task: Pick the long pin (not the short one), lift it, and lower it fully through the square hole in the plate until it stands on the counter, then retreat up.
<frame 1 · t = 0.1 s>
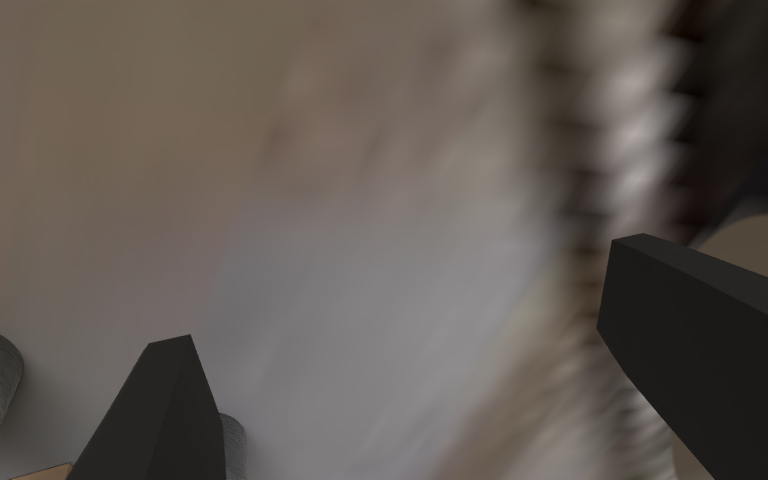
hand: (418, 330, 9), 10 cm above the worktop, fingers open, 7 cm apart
long pin: (201, 441, 23), on the worktop
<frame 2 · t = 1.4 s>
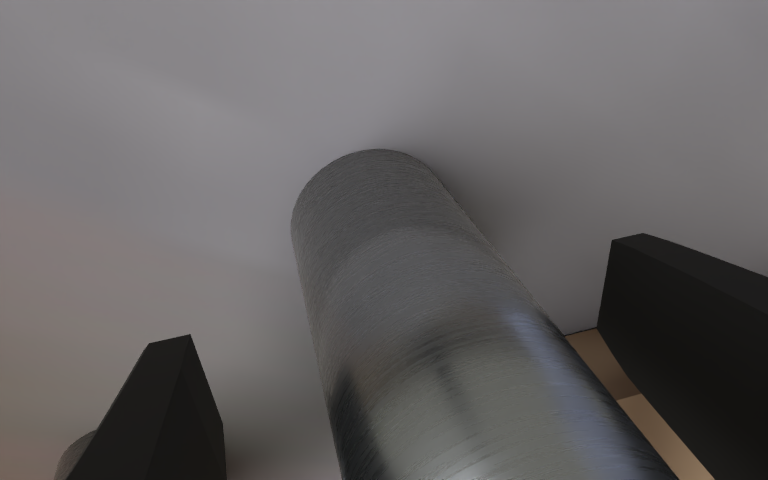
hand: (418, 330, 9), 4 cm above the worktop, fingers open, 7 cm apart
short pin: (134, 470, 14), on the worktop
long pin: (371, 224, 12), on the worktop
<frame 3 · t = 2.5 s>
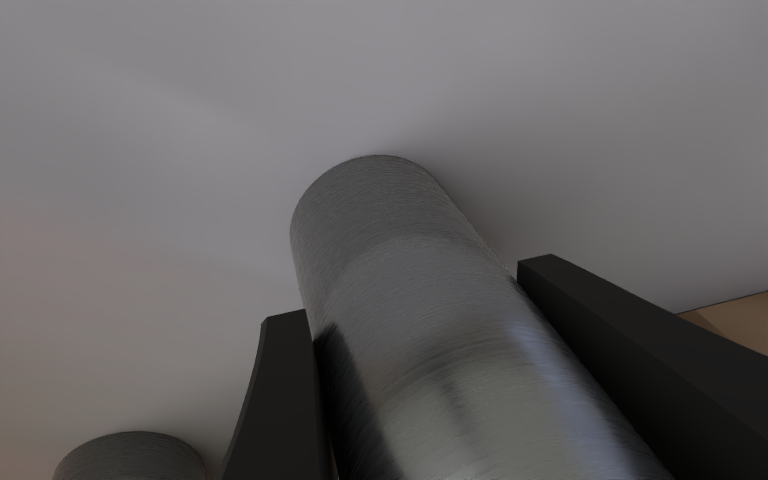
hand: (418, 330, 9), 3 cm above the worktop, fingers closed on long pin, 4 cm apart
long pin: (371, 231, 12), on the worktop, touching gripper
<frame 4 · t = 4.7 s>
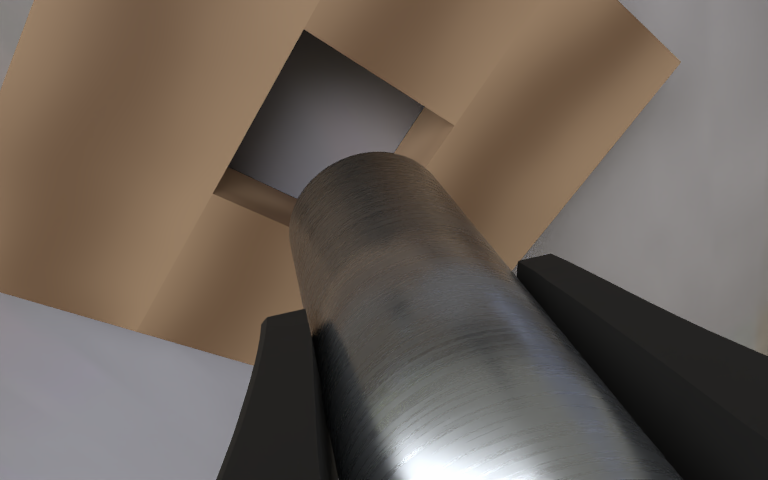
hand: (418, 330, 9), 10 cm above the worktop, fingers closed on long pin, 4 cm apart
hole plate: (323, 130, 18), on the worktop
long pin: (370, 228, 12), point 7 cm above the worktop, touching gripper
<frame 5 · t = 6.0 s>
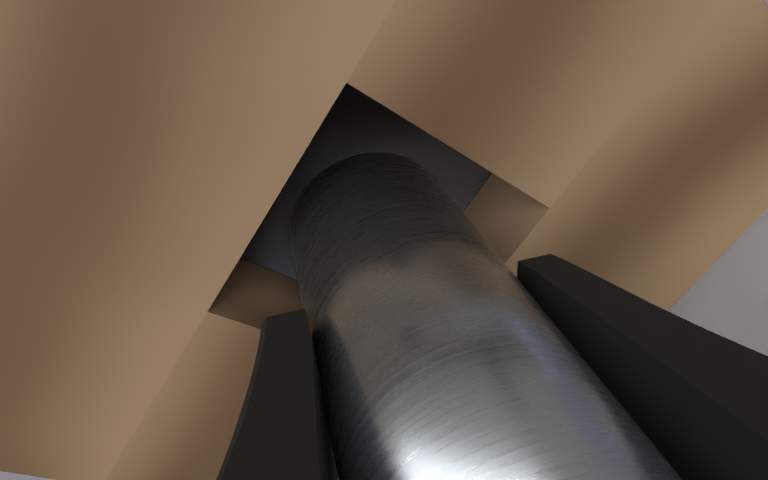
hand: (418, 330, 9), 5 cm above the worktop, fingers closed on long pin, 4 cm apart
hole plate: (359, 203, 13), on the worktop
long pin: (370, 229, 12), point 1 cm above the worktop, touching gripper
when the fingers open (4 cm above the worktop, at t = 7.0 s): long pin stays where it is, resting in hole plate.
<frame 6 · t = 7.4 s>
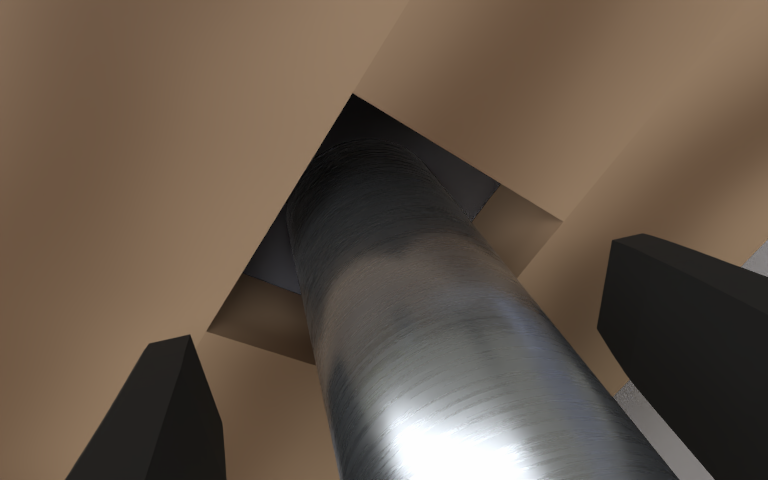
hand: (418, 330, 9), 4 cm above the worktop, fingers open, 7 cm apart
hole plate: (363, 215, 13), on the worktop
long pin: (363, 212, 13), resting in hole plate
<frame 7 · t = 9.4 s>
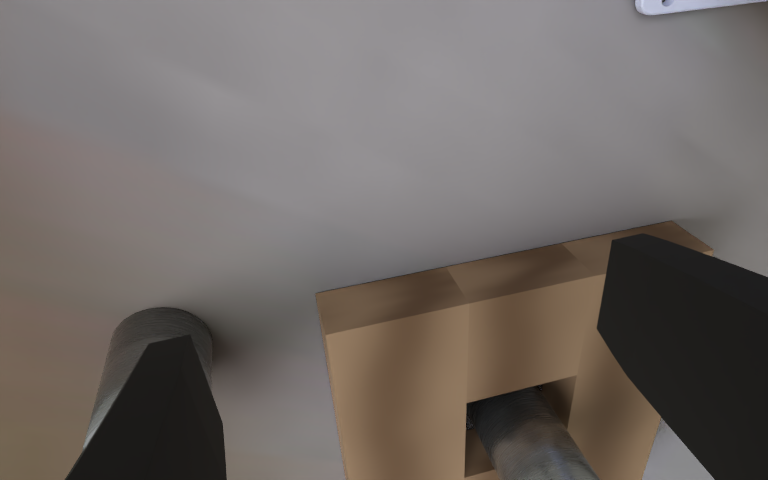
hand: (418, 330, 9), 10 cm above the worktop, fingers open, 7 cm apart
hole plate: (495, 388, 27), on the worktop
short pin: (163, 345, 21), on the worktop
long pin: (494, 387, 27), resting in hole plate
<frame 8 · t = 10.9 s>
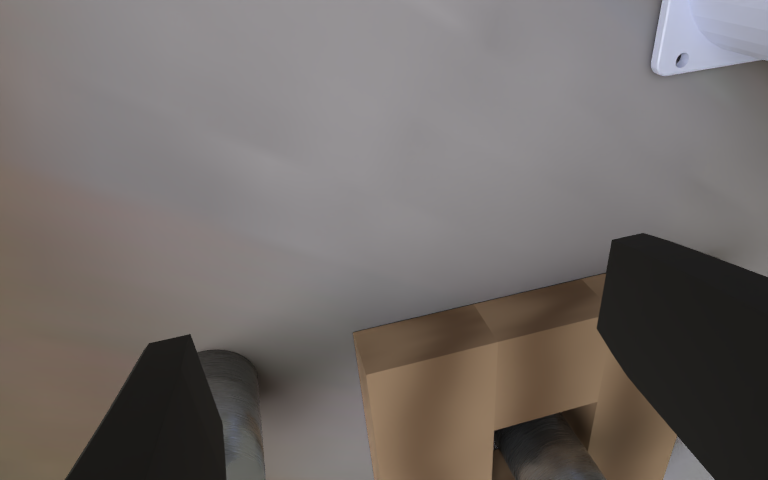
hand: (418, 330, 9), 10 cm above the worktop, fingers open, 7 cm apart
hole plate: (518, 412, 28), on the worktop
short pin: (212, 383, 22), on the worktop
long pin: (518, 411, 28), resting in hole plate
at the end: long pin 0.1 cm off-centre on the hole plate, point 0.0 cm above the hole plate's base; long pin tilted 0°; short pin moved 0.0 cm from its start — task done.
